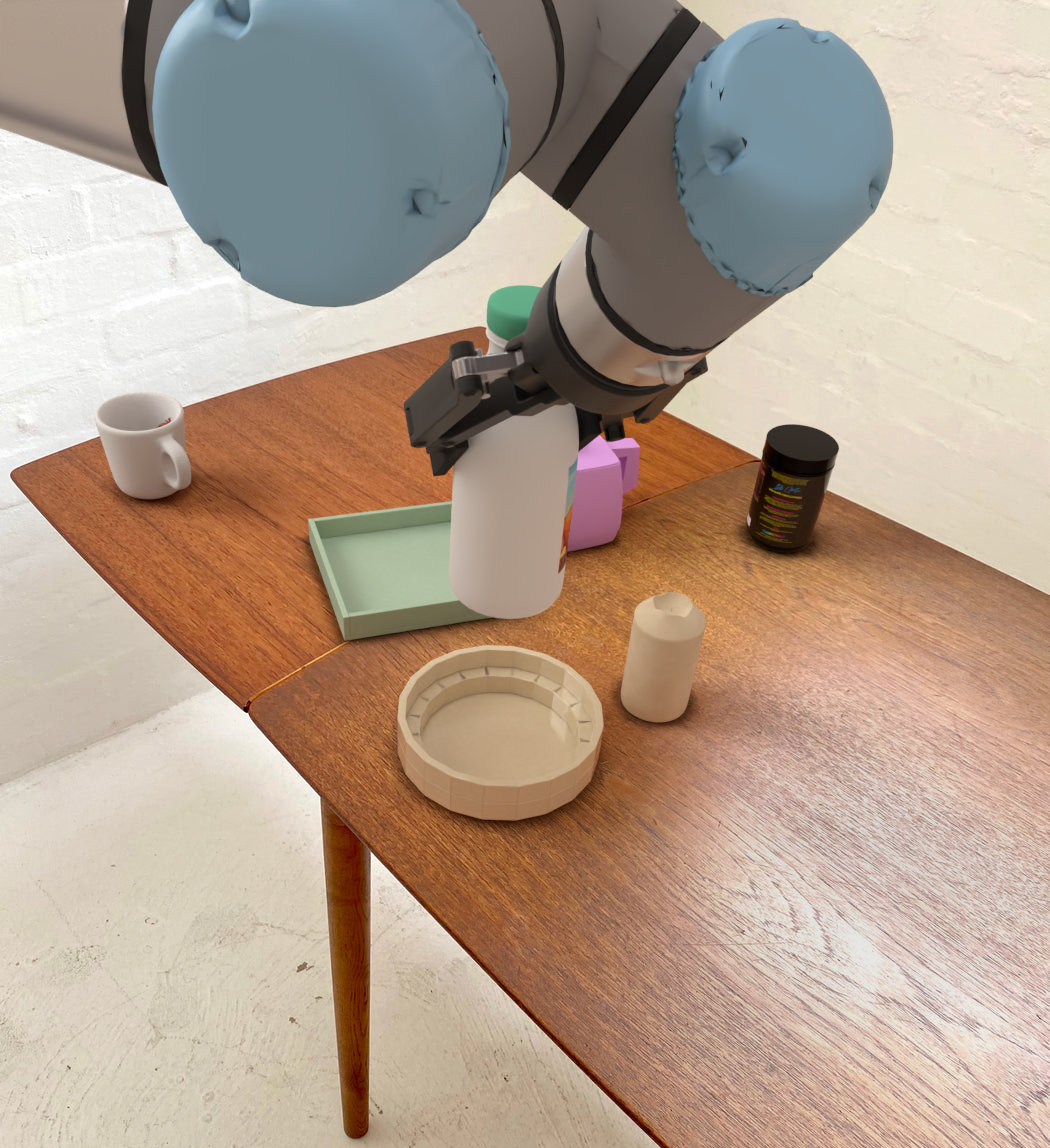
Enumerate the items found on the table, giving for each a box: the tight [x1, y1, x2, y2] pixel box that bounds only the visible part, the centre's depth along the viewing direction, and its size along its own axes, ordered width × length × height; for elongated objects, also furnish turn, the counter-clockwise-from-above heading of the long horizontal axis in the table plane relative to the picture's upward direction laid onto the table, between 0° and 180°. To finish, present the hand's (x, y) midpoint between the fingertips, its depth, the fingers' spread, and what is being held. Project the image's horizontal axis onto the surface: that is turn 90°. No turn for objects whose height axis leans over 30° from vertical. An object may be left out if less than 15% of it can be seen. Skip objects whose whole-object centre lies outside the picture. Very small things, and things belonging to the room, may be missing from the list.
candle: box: [620, 591, 707, 723], centre depth 87 cm, size 6×6×10 cm
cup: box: [94, 391, 192, 500], centre depth 105 cm, size 11×8×8 cm
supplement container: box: [745, 423, 840, 554], centre depth 106 cm, size 7×7×10 cm
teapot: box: [567, 434, 641, 553], centre depth 105 cm, size 18×10×10 cm, turn 111°
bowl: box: [396, 644, 605, 821], centre depth 84 cm, size 15×15×4 cm
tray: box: [307, 500, 493, 642], centre depth 99 cm, size 15×15×2 cm
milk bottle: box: [449, 284, 579, 620], centre depth 68 cm, size 8×8×20 cm
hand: (497, 448), depth 72 cm, fingers closed on milk bottle, 8 cm apart
